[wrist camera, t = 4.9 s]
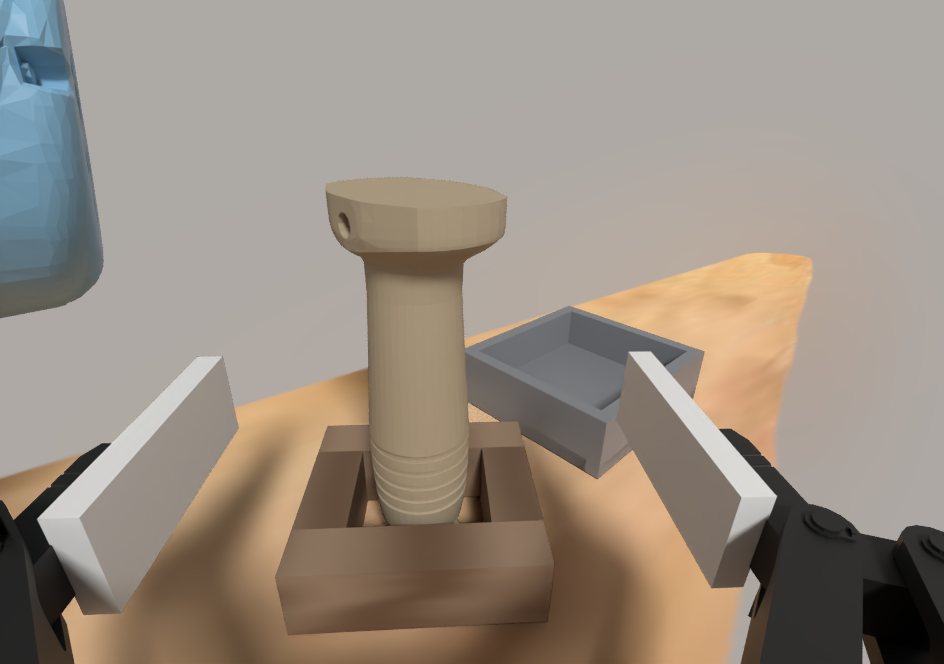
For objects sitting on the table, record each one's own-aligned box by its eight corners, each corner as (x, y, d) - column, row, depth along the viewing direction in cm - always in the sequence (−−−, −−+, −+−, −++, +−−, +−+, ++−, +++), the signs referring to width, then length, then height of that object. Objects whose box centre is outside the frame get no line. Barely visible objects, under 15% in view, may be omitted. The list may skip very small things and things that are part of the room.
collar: (288, 634, 17) (275, 577, 16) (334, 473, 25) (327, 425, 24) (547, 621, 18) (554, 564, 17) (514, 467, 26) (517, 421, 24)
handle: (419, 622, 18) (402, 214, 12) (340, 518, 22) (296, 183, 16) (512, 552, 21) (538, 196, 14) (425, 473, 25) (416, 174, 19)
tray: (597, 478, 25) (606, 423, 24) (460, 397, 32) (460, 350, 30) (693, 397, 32) (704, 351, 31) (564, 345, 39) (569, 305, 38)
